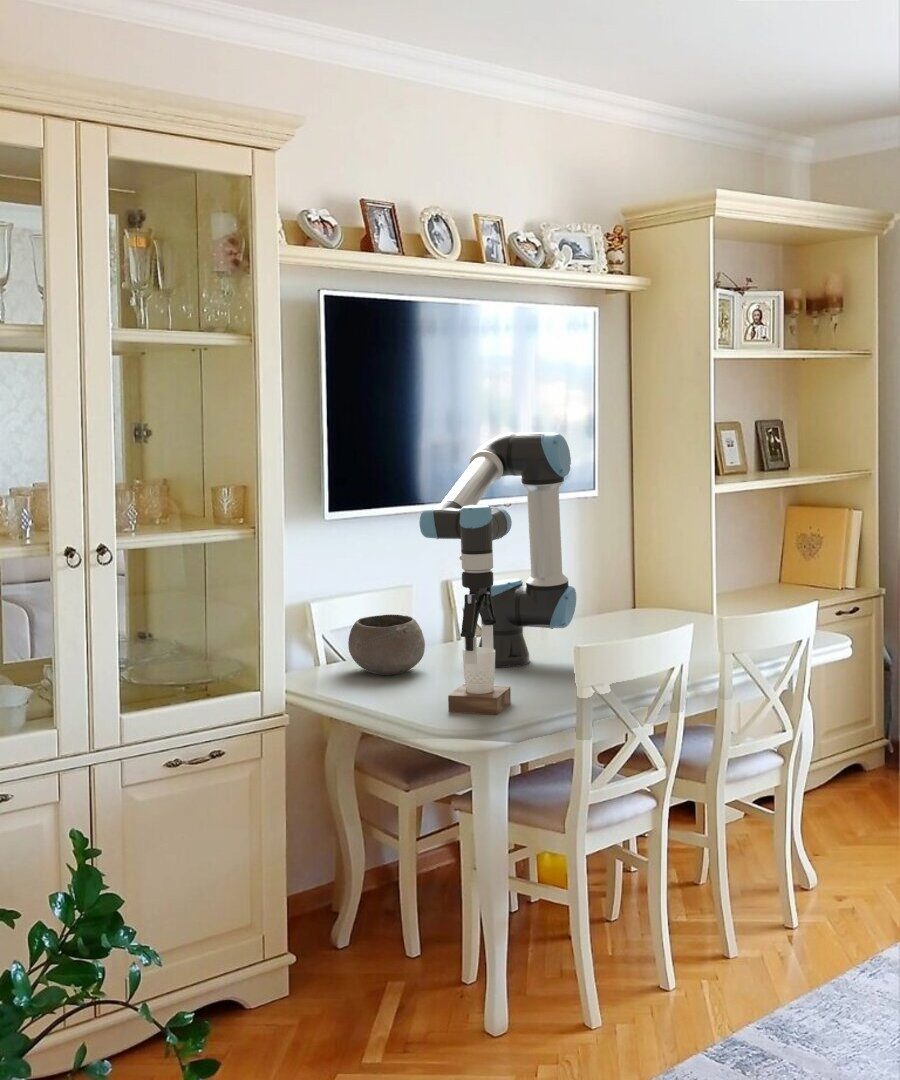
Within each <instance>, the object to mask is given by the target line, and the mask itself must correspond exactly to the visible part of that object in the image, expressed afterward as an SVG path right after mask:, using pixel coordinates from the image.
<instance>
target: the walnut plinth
mask: <svg viewBox="0 0 900 1080" xmlns="http://www.w3.org/2000/svg"><path fill="white" fill-rule="evenodd" d="M511 690H512V689H511V686H503V685H500V686H499V685H494V690H493V692H491V693H487V694H472V693H468V692H466V688H465V683H464V684H462V685H460V686H459V687H457V689H455V690H453V691H452V692H451V693H450V694H448V695H447V697H448V698H447V699H448V700H447V701H448V706H447V707H448V713H461V714H476V715H479V714H480V715H490V716H491V715H494V716H496V715H497V716H498V715H499V714H500V713H501V712H502V711H503V710H504V709H505V708H506V707H508V706H509V705H510V704H511V703H512V701H511V699H512V698H511V694H512V693H511Z"/></svg>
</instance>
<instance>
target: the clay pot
mask: <svg viewBox="0 0 900 1080" xmlns="http://www.w3.org/2000/svg"><path fill="white" fill-rule="evenodd" d="M422 630H423V629H422V628H421V626H420V624H419V623H418V622H417V620H416V619H415V618H414V617H413V616H409V615H403V614H379V615H372V616H366V617H365V616H364V617H360V618H358V619H357V620H356V621H355V622H354V624H353V626H351V629H350V632H349V636H348V641H347V643H348V651H349V655H350V656H351V659H352V660H353V661H354V662H355V663H356V664H357V665H358V666H359V667H361V669H363V670H364V671H367V672H369V673H372V674H376V675H380V676H389V675H391V676H392V675H398V674H401V673H405V672H407V671H409V670H412V669H413V668H415V667H416V666H417V665H418V664H419V663H420V662H421V660H422V659H423V657H424V655H425V650H426V642H425V637H424V634H423V631H422Z"/></svg>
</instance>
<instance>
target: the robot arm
mask: <svg viewBox="0 0 900 1080" xmlns="http://www.w3.org/2000/svg"><path fill="white" fill-rule="evenodd" d="M571 459H572V458H571V451H570V448H569V444H568V442H567V440H566V438H565V437H564V436H563V435H562V434H560V433H556V432H548V431H544V432H543V431H541V432H538V431H537V432H507V433H502V434H499V435H498V436H495V437H493V438H492V439H490V440H488V441H487V442H485V443H484V444H483V445H481V446H480V447H478V449H477V450H476V451H474V453H473V454H472V456H471V457H470V460H469V466H468V467H467V469H466V470H464V473H463V474H462V475H461V477H460V478H459V479H458V480H457V482H455V484H454V485H453V487H452V488H451V490H450V491H449V492H448V493H447V494H446V496H445V497H444V498H443V500H442V501H441V503H440V504H439V505H438V507H437V508H435V507H429V508H425V509H423V510H422V512H421V513H420V516H419V529H420V533H421V535H422V536H423V537H424V538H426V539H434V540H435V539H436V540H439V539H440V540H460V548H461V549H460V552H461V553H460V554H461V555H460V556H459V560H460V561H461V570H463V571H462V572H461V585H462V587H463V588H466V589H467V588H468V590H469V592H468V593H469V594H464V605H463V606H464V607H463V615H462V623H461V633H460V637H461V638H464V649H465V664H477V647H488V648H493V649H495V668H509V667H510V668H511V667H512V668H513V667H520V666H524V665H527V664H529V663H530V652H529V648H528V646H527V643H526V640H525V637H524V627H526V628H542V629H543V628H544V629H550V630H553V629H566V628H567V627H568V626H570V623H571V622H572V621H573V618H574V614H575V613H576V612H575V611H576V606H577V592H576V588H575V587H574V586H572V585H570V586H569V578H568V577H567V576H566V575H565V574H564V573H563V558H562V556H563V555H562V553H563V552H562V537H561V535H562V534H561V533H562V532H561V531H562V530H561V514H560V513H561V511H560V510H561V509H560V508H561V507H560V487H561V486H562V485H563V484H564V482H565V477H566V476H568V475H569V474H570V471H571V465H572V462H571ZM508 476H509V477H510V476H514V477H516V476H517V477H520V483H521V485H522V486H523V487H524V488H525V489H526V493H527V495H526V496H527V497H526V498H527V515H528V517H527V518H528V533H529V534H528V535H529V536H528V537H529V553H530V554H529V556H530V575H529V577H528V578H527V579H526V580H525V583H526V584H524V583H523V580H522V579H521V578H507V579H501V580H499V579H498V580H494V571H493V570H492V569H493V568H494V552H493V551H494V550H493V541H497V540H500V539H502V538H504V537H505V536H507V534H509V532H510V530H511V529H512V526H513V525H512V524H513V523H512V521H513V520H512V518H511V516H510V514H509V512H507V510H505V509H504V508H502V507H491V506H489V505H487V504H478V503H479V502H480V500H481V499H482V497H483V496H484V495H485V493H486V492H487V491H488V489H489V488H490V487H491V485H492V484H493V483H496V482H498V481H499V480H500V479H501V478H502V477H508ZM479 616H480V623H481V625H480V626H481V636H480V640H479V643H478V644H477V642H478V641H477V636H476V632H477V627H478V621H479Z"/></svg>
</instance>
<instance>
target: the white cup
mask: <svg viewBox="0 0 900 1080" xmlns="http://www.w3.org/2000/svg"><path fill="white" fill-rule="evenodd" d="M462 663H463V673H464V674H463V676H464V681H465V682H464V684H465V688H466V692H468V693H472V694H487V693H491V692H493V690H494V686H495V677H496V676H495V675H496V674H495V673H496V667H495V649H493V648H488V647H478V646H477V664H465V648H464V649H463V650H462Z"/></svg>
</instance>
